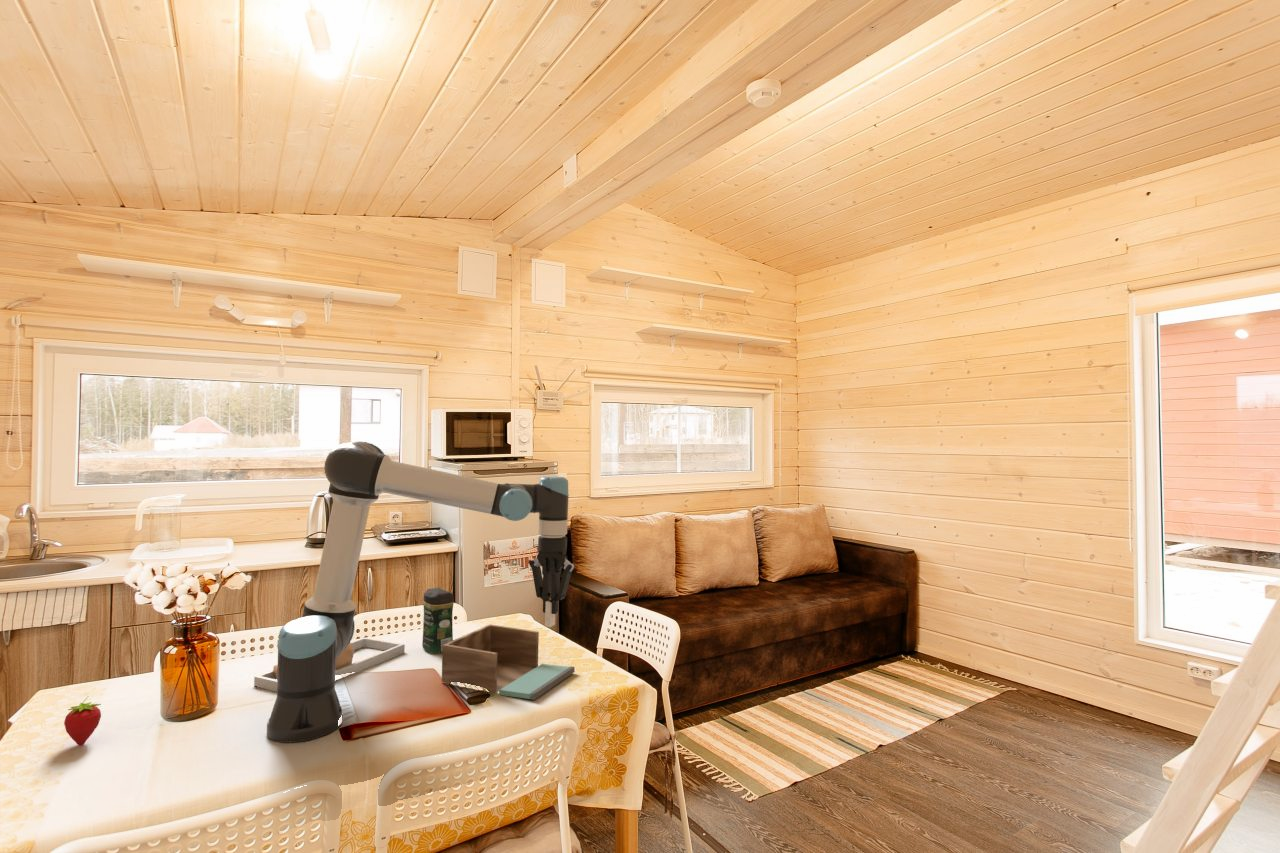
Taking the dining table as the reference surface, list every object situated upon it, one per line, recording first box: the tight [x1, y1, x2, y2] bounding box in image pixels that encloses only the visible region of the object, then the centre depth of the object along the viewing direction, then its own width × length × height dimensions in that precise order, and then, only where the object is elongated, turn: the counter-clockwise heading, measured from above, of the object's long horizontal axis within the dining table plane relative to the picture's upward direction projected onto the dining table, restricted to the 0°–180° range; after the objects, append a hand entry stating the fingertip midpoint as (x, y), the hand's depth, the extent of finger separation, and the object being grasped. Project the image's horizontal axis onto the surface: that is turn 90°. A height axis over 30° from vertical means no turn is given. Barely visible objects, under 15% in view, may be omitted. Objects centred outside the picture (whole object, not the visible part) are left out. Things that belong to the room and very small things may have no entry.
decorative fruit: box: [63, 695, 102, 746], centre depth 136 cm, size 6×8×10 cm
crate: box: [441, 624, 540, 695], centre depth 177 cm, size 21×16×11 cm
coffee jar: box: [422, 587, 455, 654], centre depth 200 cm, size 10×8×19 cm
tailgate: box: [498, 663, 576, 701], centre depth 171 cm, size 21×1×10 cm
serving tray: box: [253, 637, 406, 693], centre depth 183 cm, size 37×16×2 cm, turn 158°
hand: (549, 625), depth 170 cm, fingers closed
